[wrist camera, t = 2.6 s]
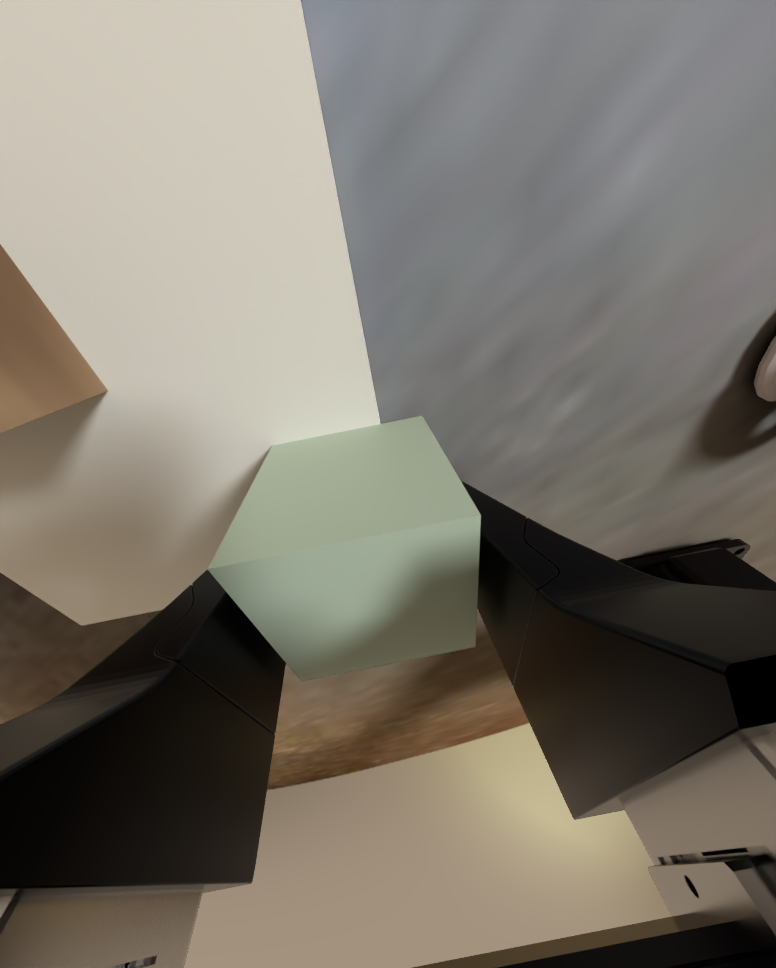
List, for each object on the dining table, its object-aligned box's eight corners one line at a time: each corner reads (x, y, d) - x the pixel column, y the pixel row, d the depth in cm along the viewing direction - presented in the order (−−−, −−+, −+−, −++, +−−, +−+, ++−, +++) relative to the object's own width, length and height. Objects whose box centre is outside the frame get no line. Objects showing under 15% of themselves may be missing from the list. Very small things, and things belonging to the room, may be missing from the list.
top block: (432, 525, 11) (475, 646, 7) (318, 548, 11) (301, 681, 7) (421, 415, 8) (481, 515, 4) (272, 445, 8) (207, 568, 4)
